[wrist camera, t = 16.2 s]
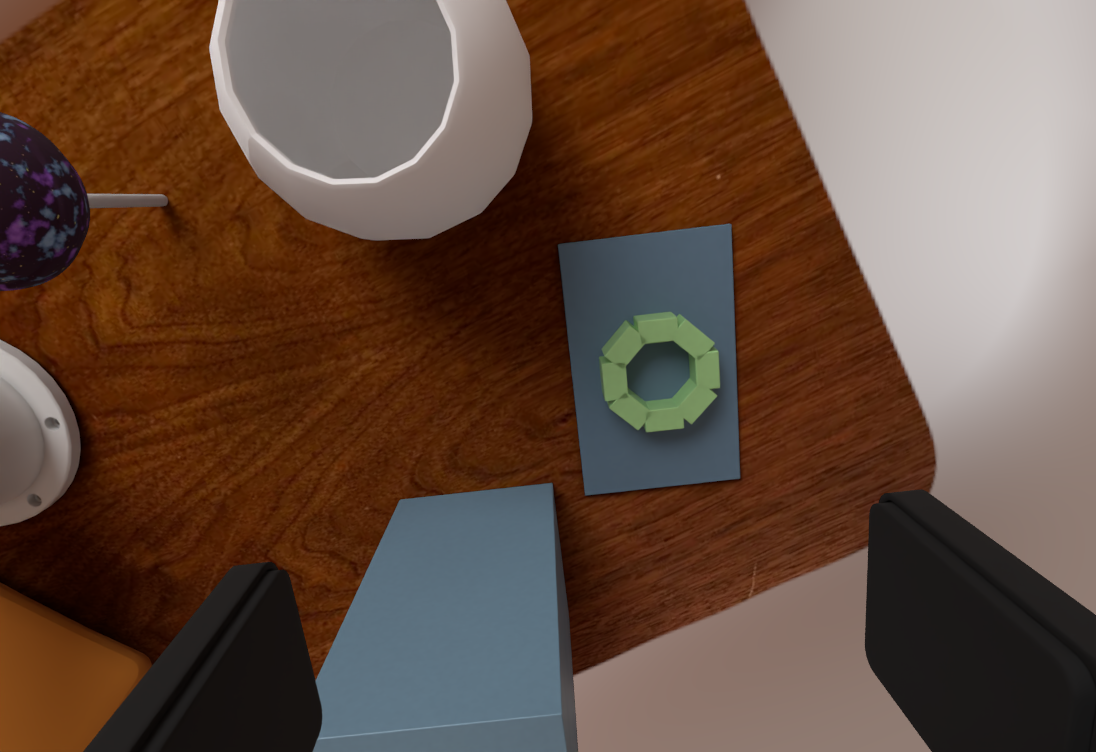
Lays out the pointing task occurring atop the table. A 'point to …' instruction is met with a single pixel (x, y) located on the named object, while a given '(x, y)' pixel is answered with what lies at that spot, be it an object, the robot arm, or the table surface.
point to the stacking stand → (457, 633)
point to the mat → (651, 354)
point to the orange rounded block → (58, 677)
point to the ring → (690, 395)
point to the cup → (376, 107)
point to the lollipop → (44, 207)
